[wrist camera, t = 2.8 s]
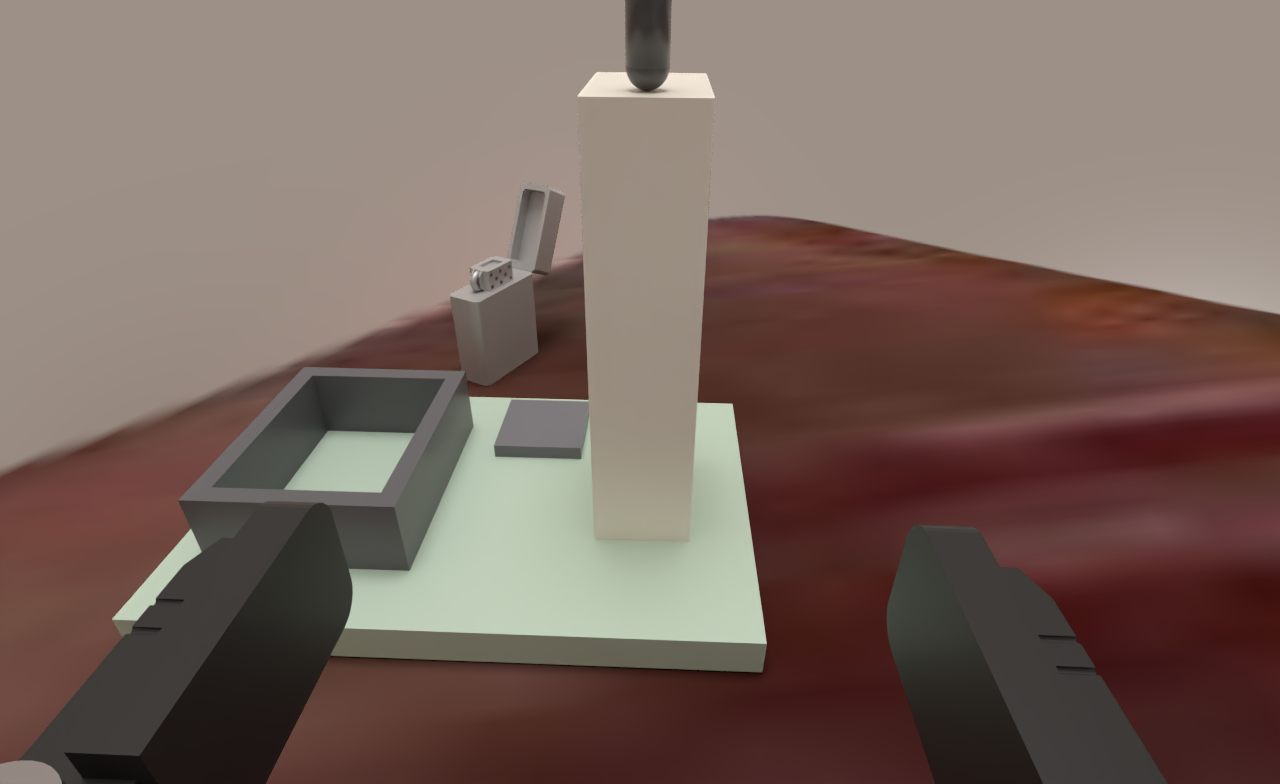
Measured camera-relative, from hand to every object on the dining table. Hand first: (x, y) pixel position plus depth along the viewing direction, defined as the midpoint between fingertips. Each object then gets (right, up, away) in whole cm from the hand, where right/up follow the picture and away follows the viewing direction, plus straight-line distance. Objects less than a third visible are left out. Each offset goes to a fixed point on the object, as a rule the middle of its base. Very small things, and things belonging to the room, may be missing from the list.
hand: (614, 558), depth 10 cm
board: (-5, -2, +15) cm, 16 cm away
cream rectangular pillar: (+1, -1, +14) cm, 14 cm away
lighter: (-6, +4, +25) cm, 26 cm away
